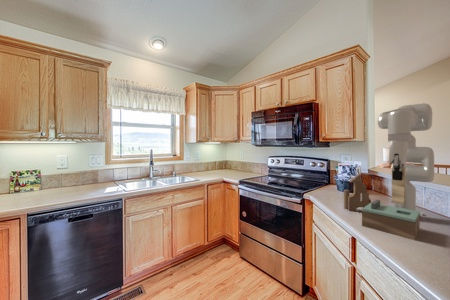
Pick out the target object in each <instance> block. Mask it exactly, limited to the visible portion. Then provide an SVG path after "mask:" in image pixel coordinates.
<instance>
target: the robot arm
mask: <svg viewBox="0 0 450 300" xmlns="http://www.w3.org/2000/svg"><path fill="white" fill-rule="evenodd" d="M432 125H433V108H432V106H431V105H430V104H429V103H425V102H423V103H415V104H408V105H406V104H405V105H402V106H399V107H398V108H395V109H392V110H389V111H384V112H381V113H380V114H379V115H378V118H377V127H378V128H380V129H382V130H387V143H388V142H389V148H388V164H392V167H393V176H392V175H391V180H392V179H393V180H400V181H401V180H402V167H406V179H405V204H404V205H402V204H396V203H393V207H398V208H404V209H409V210H415V211H417V210H416V208H417V207H416V205H417V204H416V203H417V201H416V200H417V199H416V198H417V196H416V195H417V188H416V186H415V185H414V184H413V183H412V182H420V183H431V182H433V181H434V179H435V151H434V150H433V148H432V147H429V146H417V144H416V143H417V141H416V140H417V139H416V137H415V136H414V135H413V134H412V132H421V131H422V132H423V131H428V130H430V129H431V128H432ZM406 163H410V164H406ZM413 163H414V164H413ZM415 163H416V164H417V165H416V164H415ZM419 164H420V165H419ZM421 164H422V165H421Z"/></svg>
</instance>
